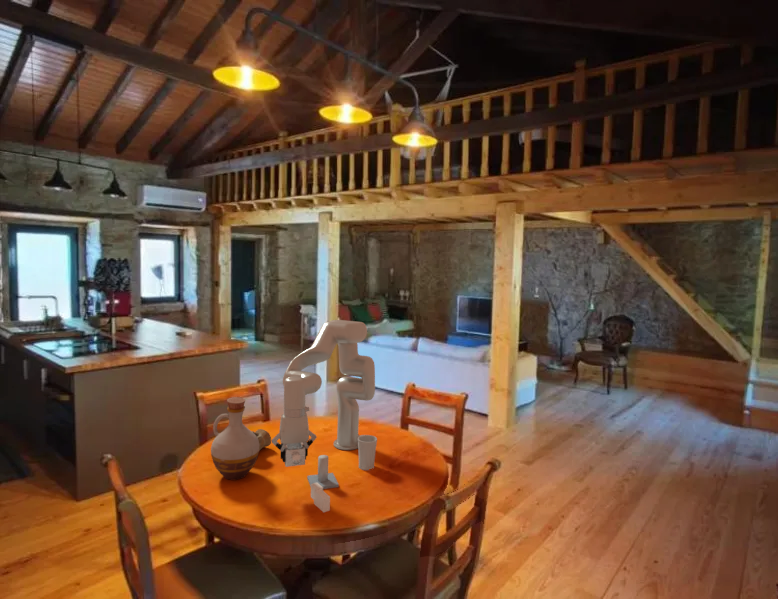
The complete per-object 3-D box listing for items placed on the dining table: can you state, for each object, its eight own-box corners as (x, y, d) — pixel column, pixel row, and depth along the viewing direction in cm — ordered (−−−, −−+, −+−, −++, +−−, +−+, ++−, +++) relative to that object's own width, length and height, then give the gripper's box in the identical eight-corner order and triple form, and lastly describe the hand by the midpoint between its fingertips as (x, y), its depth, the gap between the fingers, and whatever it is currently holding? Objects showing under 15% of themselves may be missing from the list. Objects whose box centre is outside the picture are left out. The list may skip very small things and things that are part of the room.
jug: (196, 479, 180) (196, 401, 178) (228, 461, 197) (229, 389, 194) (238, 490, 173) (239, 409, 170) (268, 470, 190) (269, 396, 187)
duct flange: (332, 475, 188) (333, 450, 187) (338, 487, 178) (339, 461, 177) (307, 478, 184) (307, 453, 184) (311, 490, 175) (312, 464, 174)
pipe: (273, 447, 212) (273, 425, 211) (256, 462, 196) (256, 439, 196) (254, 445, 214) (254, 423, 213) (236, 460, 198) (236, 436, 197)
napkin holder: (333, 516, 159) (334, 499, 159) (300, 514, 159) (300, 498, 159) (339, 494, 174) (340, 479, 173) (308, 492, 174) (309, 477, 174)
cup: (380, 467, 197) (381, 438, 196) (366, 473, 191) (367, 443, 190) (366, 461, 202) (367, 433, 201) (352, 466, 196) (353, 438, 195)
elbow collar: (283, 458, 174) (283, 442, 174) (302, 456, 177) (302, 440, 176) (287, 471, 165) (287, 454, 164) (306, 469, 167) (306, 452, 166)
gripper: (316, 406, 177) (316, 452, 179) (268, 410, 171) (268, 457, 173) (320, 412, 170) (319, 460, 172) (270, 417, 164) (270, 466, 166)
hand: (294, 458), depth 172 cm, fingers closed on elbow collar, 6 cm apart
